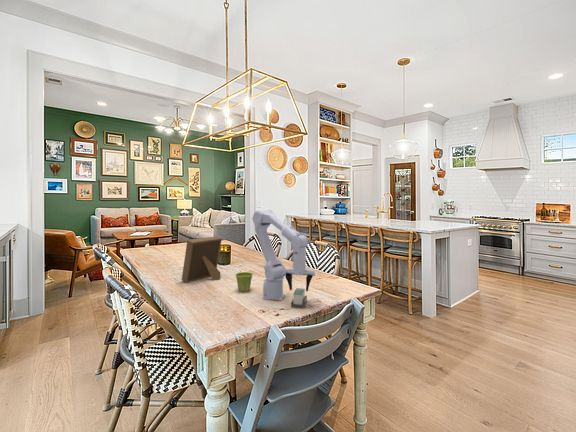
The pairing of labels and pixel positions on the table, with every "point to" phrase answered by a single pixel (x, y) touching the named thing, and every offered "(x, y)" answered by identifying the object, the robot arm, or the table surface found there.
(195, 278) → the photo frame
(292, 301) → the grey rectangular tray
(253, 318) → the table surface
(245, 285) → the plant pot
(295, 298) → the teal rectangular brick
